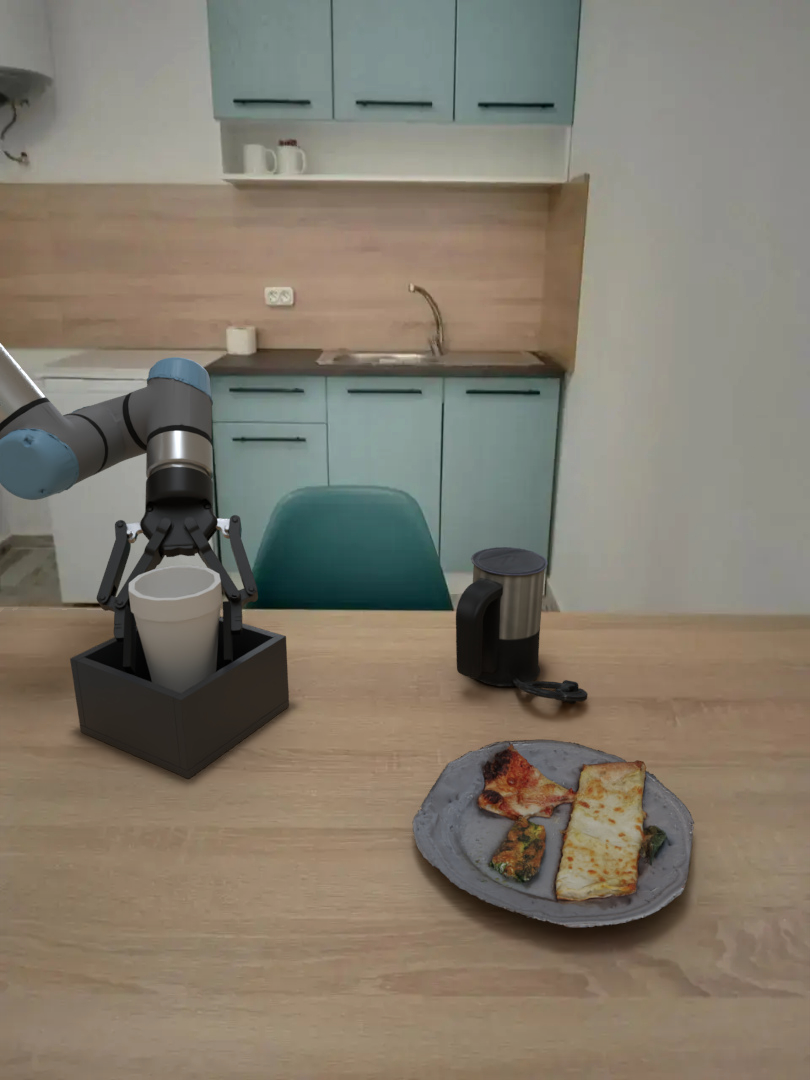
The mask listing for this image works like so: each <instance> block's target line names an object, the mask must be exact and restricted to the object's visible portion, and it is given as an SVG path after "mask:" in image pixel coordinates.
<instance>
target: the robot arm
mask: <svg viewBox="0 0 810 1080" xmlns="http://www.w3.org/2000/svg"><path fill="white" fill-rule="evenodd" d="M213 405H214V399H213V396H212V386H211V377H210V375H209V373H208V371H207V370H206V368H205V367H203V366H202V365H201V364H200V363H198V362H197V361H195V360H192V359H189V358H185V357H180V356H179V357H178V356H177V357H176V356H175V357H174V356H173V357H166V358H162V359H160V360H157V361H156V362H155V363H154V365H152V367H151V368H149V371H148V376H147V378H146V386H145V387H141V388H138V389H136V390H134V391H131V392H129V393H127V394H124V395H123V394H122V395H121V396H117V397H114V398H111V399H110V398H109V399H108V400H104V401H100V402H98V403H94V404H91V405H87V406H82V407H80V408H77V409H75V410H73V411H72V412H70V413H66V414H62V413H61V412H60V411H59V409H58V408H57V407H56V406H55V404H54V403H52V401H51V400H50V399H49V398H48V397H47V396H46V395H45V393H43V391H42V390H41V389H40V388H39V387H38V385H37V384H36V383H35V382H34V380H33V379H32V378H31V377H30V376H29V374H27V372H26V371H25V370H24V369H23V368H22V367H21V365H20V364H19V363H18V362H17V360H16V359H15V358H14V357H13V356H12V355H11V354H10V352H9V351H8V350H7V349H6V347H4V345H3V343H1V342H0V485H1V486H2V488H4V489H5V490H6V491H7V492H8V493H10V494H11V495H13V496H15V497H17V498H20V499H22V500H27V501H28V500H29V501H37V500H42V499H46V498H49V497H51V496H54V495H57V494H61V493H62V492H65V491H68V490H70V489H71V488H72V487H73V486H75V485H76V484H78V483H81V482H82V481H84V480H86V479H88V478H91V477H92V476H95V475H97V474H100V473H101V472H103V471H105V470H108V469H109V468H112V467H113V466H115V465H118V464H119V463H121V462H124V461H127V460H129V459H130V460H131V459H133V458H136V457H139V456H141V455H146V456H145V458H146V459H145V462H146V463H145V477H146V481H145V503H144V504H145V505H144V506H145V507H144V508H145V510H144V514H143V517H142V518H141V520H140V521H137V522H135V521H134V522H129V523H128V522H127V523H126V521H125V520H123V519H119V520H117V521H115V523H114V533H115V539H114V543H113V546H112V549H111V552H110V555H109V558H108V561H107V564H106V568H105V570H104V573H103V576H102V579H101V582H100V586H99V588H98V592H97V594H96V601H97V603H98V604H99V606H100V608H101V609H102V610H103V611H105V612H106V611H110V612H113V613H114V614H113V615H114V616H113V617H114V618H113V635H114V636H113V637H115V638H116V640H117V641H118V642H124V646H123V668H124V670H125V671H126V673H128V674H135V657H136V626H137V624H136V621H135V617H134V613H132V612H131V607H130V599H129V582H131V581H132V580H133V579H134V578H135V577H137V576H138V575H140V574H143V573H146V572H148V571H151V570H153V569H157V567H158V566H159V565H160V564H161V563H162V561H163V560H164V558H165V557H166V558H174V557H179V556H185V557H195V556H196V554H197V555H198V556H199V558H200V560H201V561H202V562H203V563H204V564H205V567H206V568H210V569H211V570H213V571H215V572H217V573H219V575H220V580H221V590H222V594H223V595H224V597H225V598H226V599H227V601H226V600H225V601H224V600H223V601H222V617H223V641H224V662H225V666H227V665H228V664H230V663H232V662H233V646H232V635H239V634H241V633H242V630H243V627H242V623H243V607H244V606H245V605H246V604H248V603H255V602H257V601H258V599H259V593H258V592H259V591H258V586H257V583H256V579H255V577H254V573H253V571H252V567H251V565H250V561H249V558H248V555H247V552H246V549H245V546H244V543H243V541H242V540H243V539H242V532H243V531H242V530H243V529H242V521H241V517H240V516H239V515H238V514H234V515H233V514H232V515H231V516H230V517H229V518H218V517H217V516H216V514H215V512H214V511H215V509H214V482H213V480H212V479H213V477H214V463H213V462H214V460H213V459H214V458H213V454H214V453H213V452H214V451H213V439H212V435H213V434H212V433H213V432H212V429H213V427H212V425H213V423H212V422H213V421H212V420H213V419H212V418H213ZM217 531H221V533H222V537H224V538H225V539H227V540H229V545H230V548H231V553H232V554H233V557H234V560H235V564H236V567H237V571H238V574H239V577H240V580H241V582H242V586H243V588H242V589H238V587H237V586H236V584H235V583H234V581H233V579H232V578H231V575H229V573H228V572H227V570H226V568H225V567H224V565H223V564H222V562H221V561H220V559H219V558H218V556H217V555H216V553H215V551H214V549H213V548H212V546H211V544H210V542H209V541H210V540H211V539H212V538H213V536H214V535H215V534H216V532H217ZM141 534H143V535H144V537H146V539H147V540H148V542H147V544H146V545H145V547H144V551H143V553H142V555H141V556H140V558H139V560H138V561H137V563H136V564H135V566H134V568H133V570H132V571H131V573H130V574H129V575H128V577H127V579H126V581H125V583H124V584H123V586H122V587H121V589H120V591H119V593H118V590H119V588H120V585H121V582H122V578H123V575H124V573H125V569H126V567H127V563H128V559H129V556H130V553H131V547H132V544H134V543H135V542H136V541H137V539H138V536H139V535H141Z"/></svg>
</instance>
